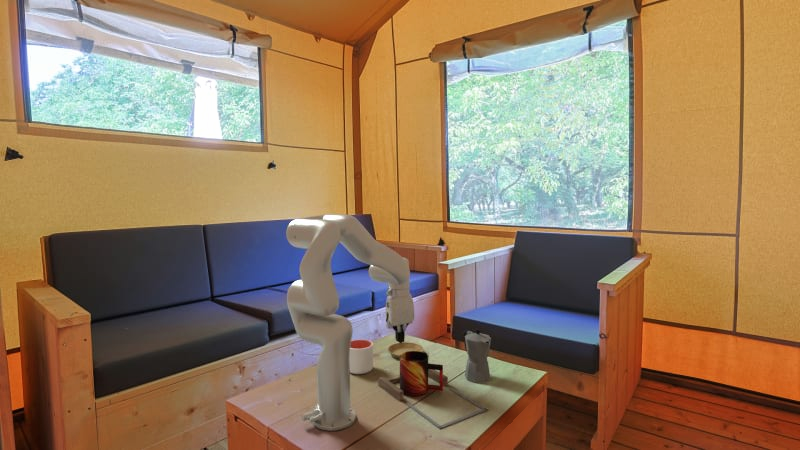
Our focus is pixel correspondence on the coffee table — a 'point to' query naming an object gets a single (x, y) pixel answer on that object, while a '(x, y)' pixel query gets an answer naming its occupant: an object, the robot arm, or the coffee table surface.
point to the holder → (394, 390)
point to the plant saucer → (403, 348)
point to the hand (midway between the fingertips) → (400, 341)
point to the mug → (417, 374)
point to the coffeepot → (477, 356)
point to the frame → (453, 420)
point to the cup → (361, 356)
